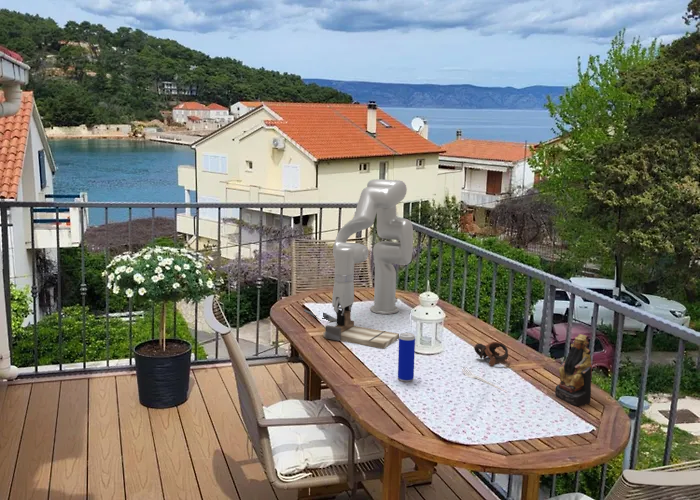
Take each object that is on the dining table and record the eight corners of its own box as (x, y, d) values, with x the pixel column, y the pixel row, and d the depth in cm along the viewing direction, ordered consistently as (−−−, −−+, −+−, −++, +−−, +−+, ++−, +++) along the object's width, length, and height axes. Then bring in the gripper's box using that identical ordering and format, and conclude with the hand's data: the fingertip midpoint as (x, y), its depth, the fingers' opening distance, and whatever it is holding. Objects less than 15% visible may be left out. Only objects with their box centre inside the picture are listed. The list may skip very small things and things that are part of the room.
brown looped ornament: (506, 359, 228) (512, 344, 222) (501, 378, 221) (507, 363, 215) (473, 347, 230) (479, 332, 225) (467, 366, 223) (473, 350, 218)
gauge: (344, 328, 257) (344, 307, 256) (357, 330, 254) (357, 309, 253) (325, 338, 244) (325, 316, 243) (338, 340, 241) (339, 318, 240)
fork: (503, 395, 196) (504, 390, 196) (459, 373, 212) (460, 368, 212) (511, 393, 198) (511, 388, 197) (467, 371, 214) (467, 366, 214)
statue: (551, 394, 196) (555, 332, 193) (572, 391, 199) (577, 330, 195) (577, 410, 185) (582, 344, 181) (599, 406, 187) (604, 341, 184)
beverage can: (415, 377, 208) (416, 333, 205) (411, 383, 203) (413, 338, 200) (399, 375, 209) (401, 331, 207) (395, 380, 204) (397, 336, 202)
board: (341, 328, 259) (341, 323, 259) (399, 338, 247) (399, 333, 247) (323, 337, 247) (323, 332, 247) (383, 348, 235) (383, 343, 234)
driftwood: (338, 322, 268) (338, 317, 268) (324, 324, 265) (324, 319, 265) (317, 311, 286) (317, 306, 286) (303, 313, 283) (303, 308, 283)
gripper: (346, 272, 256) (345, 316, 259) (324, 280, 241) (324, 327, 244) (362, 275, 252) (361, 319, 255) (342, 283, 238) (341, 330, 241)
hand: (343, 322), depth 250 cm, fingers closed on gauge, 4 cm apart
